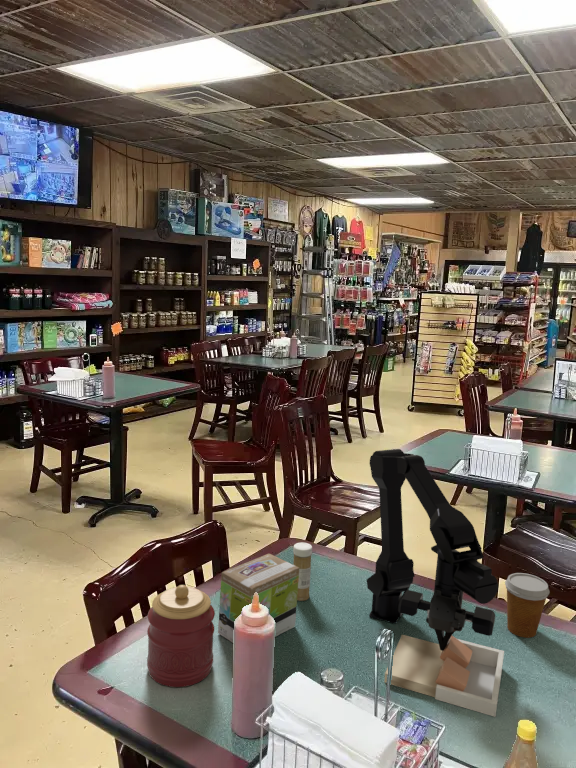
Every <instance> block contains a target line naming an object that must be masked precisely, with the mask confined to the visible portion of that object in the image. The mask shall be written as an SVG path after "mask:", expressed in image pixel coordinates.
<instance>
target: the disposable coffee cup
mask: <svg viewBox="0 0 576 768" xmlns="http://www.w3.org/2000/svg"><path fill="white" fill-rule="evenodd" d="M504 585H505V589H506V606H507V607H506V615H507V618H506V619H507V620H506V621H507V622H506V624H507V630H508V631H509V632H510V633H512V634H513V635H515V636H517V637H520V638H525V639H526V638H530V639H531V638H533V637H535V636H536V635H537V632H538V628H539V625H540V622H541V619H542V615H543V612H544V608H545V605H546V600H547V598H548V596H550V593H551V592H550V591H551V590H550V589H549V584H548V583H547V581H545V580H544V579H542V578H540V577H539V576H536V575H534V574H531V573H530V574H529V573H523V572H515V573H511V574H509V575H508V576H507V579H506V580H505V582H504Z"/></svg>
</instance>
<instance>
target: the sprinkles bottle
mask: <svg viewBox="0 0 576 768" xmlns="http://www.w3.org/2000/svg"><path fill="white" fill-rule="evenodd" d="M292 553H293V562H292V563H293V564H292V565H295V566H297V567H299V581H298V594H297V602H298V601H299V602H304V601H307V600H308V599H309V598H310V586H311V574H312V573H311V572H312V571H311V570H312V554H313V546H312V544H310V543H307V542H296V543H294V545H293V552H292Z"/></svg>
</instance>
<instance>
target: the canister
mask: <svg viewBox="0 0 576 768" xmlns="http://www.w3.org/2000/svg"><path fill="white" fill-rule="evenodd" d="M211 601H212V600H211V598H210V596H209V595H208V594H207V593H205V592H204V591H202V590H199V589H198V588H195V587H192V586H188V585H185V584H179V585H178V586H173V587H170V588H169V589H168V588H167V589H166V590H164V591H163V592H161V593H159V594H157V595H156V596H155V597H154V598H153V600H152V602H151V603H152V604H151V607H150V608H149V610H148V613H147V620H148V622H149V625H148V628H147V637H148V639H147V641H148V643H147V646H148V647H147V657H146V661H147V663H146V666H147V669H148V670H147V671H148V674H149V676H150V678H151V679H152V680H153V681H154V682H156V683H158V684H159V685H163V686H166V687H171V688H183V687H189V686H192V685H196V684H198V683H200V682H202V681H203V680H204V679H206V678H207V677H208V675H209V674H210V673H211V671H212V668H213V663H214V652H213V650H214V647H213V646H214V633H215V625H214V622H213V620H214V619H215V616H216V613H215V612H216V611H215V608H214V606H212V602H211Z"/></svg>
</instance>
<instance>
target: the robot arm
mask: <svg viewBox="0 0 576 768" xmlns="http://www.w3.org/2000/svg"><path fill="white" fill-rule="evenodd" d="M369 467H370V472H371V474H370V475H371V478H372V480H373V481H374V482H375V485H376V486H377V487H378V489H379V491H378V493H379V494H378V495H379V507H380V508H379V513H380V514H379V516H380V530H381V531H380V532H381V533H380V536H381V552H380V553H379V556H378V557H377V559H376V562H375V570H374V571H375V573H373V574H372V575H371V576H369V577H368V578H367V579H366V586H367V589H368V590H369V591H370V592H371V593H372V600H371V611H370V612H369V614H368V615H369V617H370V618H373V619H376V620H380V621H384V622H389V623H392V624H397V622H399V619H400V618H401V616H402V615H406V616H409V617H410V616H411V617H414V616H416V615H417V614H418V610H419V611H420V610H421V611H425V612H426V614H427V616H426V619H425V622H426V623H427V624H428V627H429V628H431V630H434V631H435V635H436V638H437V639H436V640H437V644H439V647H440V650H442V651H443V650H444V649H445V647H446V645H447V643H448V641H449V639H450V637H451V636H453V634H454V633H455V632H462V630H463V628H464V627H465V623H466V622H469V623H471V629H472V630H473V632H474V633H475V634H476V633H477V634H481V635H484V636H488V637H490V636H493V631H494V627H495V622H496V621H495V620H496V612H495V611H494V610H492V609H488V608H484V607H480V606H475V609H474V612H473V611H468V610H467V609H465V608H463V607H462V606H463V598H464V594H466V595H467V596H469V597H471V598H472V599H473V600H474V601H476V602H477V603H478V604H483V605H486V604H488V603H491V601H492V600H494V598H495V597H496V596H497V593H498V590H499V583H498V580H497V577H495V576H494V575H493V574H492V571H493V569H492V568H491V567H489V566H488V565H485V564H482V563H481V562H480V561H478V560H482V559H484V554H483V551H482V547H481V544H480V542H479V540H478V537H477V534H476V530H475V527H474V526H473V523H472V522H471V521H470V520H469V518H467V516H466V515H465V514H464V513H463V512H462V511H460V510H459V509H457V508H455V507H454V506H453V505H452V504H451V503H450V502H449V500H448V499H447V498H446V496H445V494H444V492H442V490H441V488H440V487H439V485H438V483H437V482H436V481H435V479H434V477H433V476H432V474H431V473H430V471H429V469H428V468H427V466H426V462H425V459H424V457H422V456H421V455H418V454H414V453H405V452H404V451H403V450H402V449H400V448H395V449H394V448H392V449H385V450H384V449H382V450H375V451H374V452H373V453H372V455H370V458H369ZM405 481H407V482H408V484H409V485H410V487H411V489H412V491H413V492H414V494H415V496H416V497H417V499H418V501H419V502H420V504H421V505H422V507H423V509H424V510H425V512H426V514H427V516H428V519H429V531H430V533H431V536H432V537H433V540H434V543H435V545H433V546H431V547H430V549H431V551H432V552H434V553H435V554H437V557H436V566H435V567H436V571H435V578H434V586H433V587H434V588H433V594H432V597H431V599H430V601H428V600H424V594H423V593H422V592H418V591H414V590H411V589H410V587H411V585H412V584H413V582H414V578H415V577H416V576H415V575H416V574H415V572H414V571H415V570H414V566H415V564H414V560H413V559H411V558H409V556H408V555H407V553H406V552H405V549H404V527H403V507H402V506H403V505H402V487H403V485H404V483H405ZM463 548H465V549H466V548H469V549H468V550H463V551H459V549H463ZM409 589H410V590H409Z"/></svg>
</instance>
